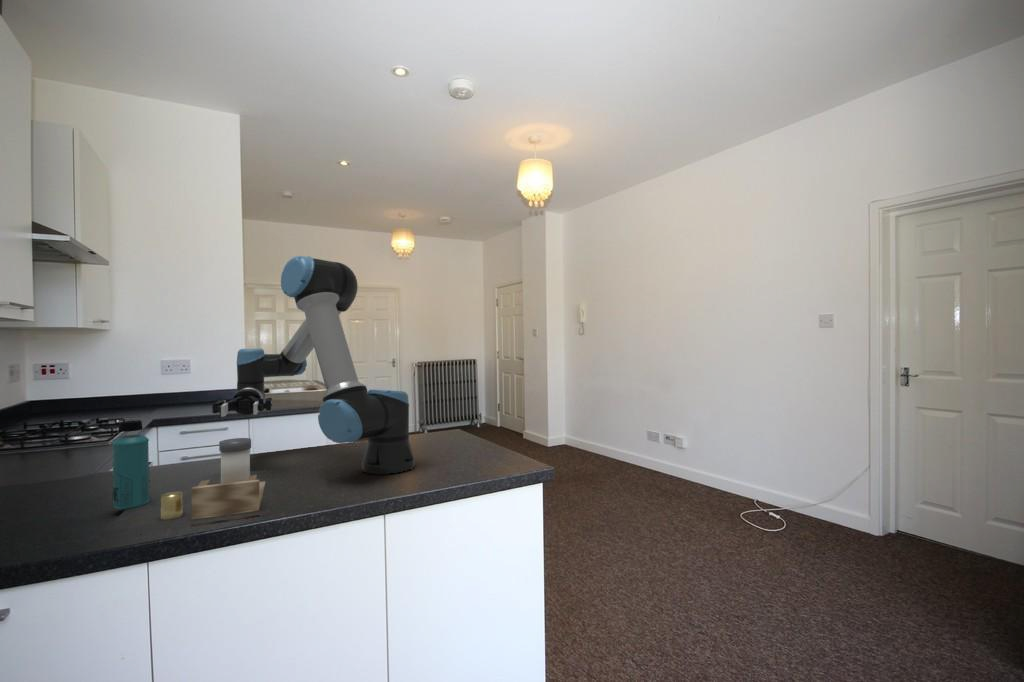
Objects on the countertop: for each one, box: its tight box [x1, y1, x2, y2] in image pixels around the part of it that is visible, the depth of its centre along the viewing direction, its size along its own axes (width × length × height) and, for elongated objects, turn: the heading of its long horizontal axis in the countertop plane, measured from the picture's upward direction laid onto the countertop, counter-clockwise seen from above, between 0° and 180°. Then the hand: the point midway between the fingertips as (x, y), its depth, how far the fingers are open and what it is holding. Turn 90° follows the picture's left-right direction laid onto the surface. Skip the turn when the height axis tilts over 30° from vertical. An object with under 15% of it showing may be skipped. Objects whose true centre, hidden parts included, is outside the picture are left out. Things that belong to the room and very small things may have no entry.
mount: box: [190, 474, 266, 528], centre depth 108 cm, size 12×24×8 cm, turn 24°
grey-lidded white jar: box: [218, 437, 252, 484], centre depth 113 cm, size 7×7×12 cm
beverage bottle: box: [111, 419, 151, 510], centre depth 104 cm, size 6×7×20 cm
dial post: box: [160, 491, 183, 520], centre depth 97 cm, size 4×4×6 cm
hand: (239, 410), depth 120 cm, fingers open, 6 cm apart
